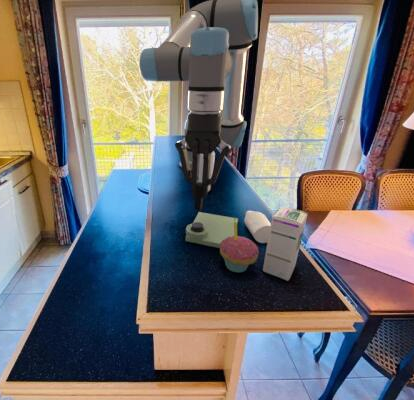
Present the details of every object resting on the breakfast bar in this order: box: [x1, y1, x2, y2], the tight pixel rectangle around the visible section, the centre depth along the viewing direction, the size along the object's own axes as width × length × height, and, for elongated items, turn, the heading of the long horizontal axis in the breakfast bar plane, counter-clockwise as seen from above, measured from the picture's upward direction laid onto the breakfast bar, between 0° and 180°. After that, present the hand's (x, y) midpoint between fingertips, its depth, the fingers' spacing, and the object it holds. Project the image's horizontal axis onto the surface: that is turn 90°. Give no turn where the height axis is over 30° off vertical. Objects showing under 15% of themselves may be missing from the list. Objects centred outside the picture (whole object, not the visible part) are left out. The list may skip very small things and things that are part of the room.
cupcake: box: [219, 217, 259, 273], centre depth 59 cm, size 9×8×12 cm
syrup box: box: [262, 205, 308, 282], centre depth 57 cm, size 6×6×14 cm
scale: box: [184, 211, 239, 249], centre depth 74 cm, size 15×12×3 cm
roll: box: [243, 210, 271, 244], centre depth 74 cm, size 6×12×6 cm, turn 2°
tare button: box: [191, 222, 203, 232], centre depth 71 cm, size 3×3×2 cm
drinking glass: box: [198, 150, 216, 193], centre depth 98 cm, size 7×7×15 cm
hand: (198, 207), depth 68 cm, fingers closed
